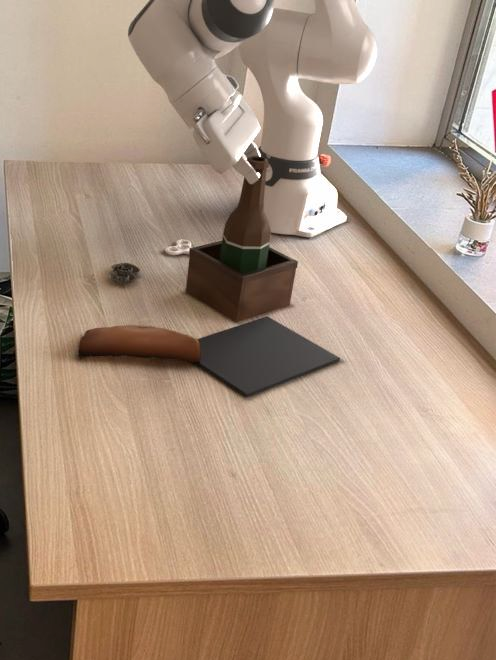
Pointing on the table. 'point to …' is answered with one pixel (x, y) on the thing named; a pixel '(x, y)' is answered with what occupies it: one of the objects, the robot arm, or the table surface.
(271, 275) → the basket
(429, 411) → the table surface
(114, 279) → the corroded twin loop
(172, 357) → the sunglasses case
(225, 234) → the beer bottle
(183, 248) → the fidget spinner
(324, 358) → the mat
